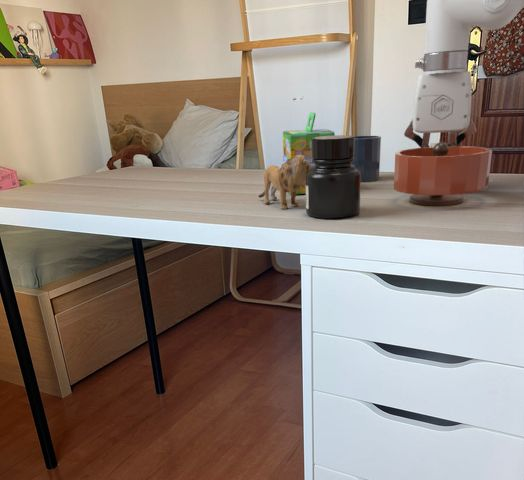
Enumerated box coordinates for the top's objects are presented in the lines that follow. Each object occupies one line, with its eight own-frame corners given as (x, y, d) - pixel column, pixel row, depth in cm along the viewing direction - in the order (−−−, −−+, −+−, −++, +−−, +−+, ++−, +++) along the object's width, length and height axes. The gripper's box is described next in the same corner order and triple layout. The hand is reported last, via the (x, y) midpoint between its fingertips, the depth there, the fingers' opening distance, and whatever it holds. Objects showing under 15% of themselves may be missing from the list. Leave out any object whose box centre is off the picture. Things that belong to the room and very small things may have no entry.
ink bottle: (331, 206, 94) (332, 134, 89) (371, 211, 88) (375, 134, 83) (293, 215, 88) (291, 139, 83) (333, 222, 82) (334, 140, 77)
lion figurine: (318, 207, 94) (318, 154, 90) (295, 212, 91) (293, 157, 87) (269, 198, 105) (267, 150, 101) (247, 202, 102) (244, 152, 98)
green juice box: (283, 188, 114) (280, 113, 107) (325, 185, 115) (325, 111, 108) (290, 195, 106) (288, 115, 99) (335, 192, 106) (335, 112, 100)
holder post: (460, 196, 97) (466, 138, 92) (465, 205, 89) (472, 143, 85) (409, 196, 99) (413, 140, 94) (409, 206, 91) (414, 145, 87)
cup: (379, 176, 122) (381, 135, 118) (378, 181, 116) (380, 138, 112) (347, 177, 124) (347, 136, 120) (343, 182, 118) (344, 139, 114)
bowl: (477, 173, 104) (480, 141, 101) (493, 194, 84) (498, 154, 81) (395, 176, 108) (397, 144, 105) (392, 196, 88) (394, 158, 85)
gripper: (397, 67, 94) (393, 174, 102) (496, 60, 90) (483, 172, 98) (398, 69, 101) (394, 169, 109) (490, 61, 97) (478, 166, 105)
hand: (436, 169), depth 103 cm, fingers closed on bowl, 3 cm apart
